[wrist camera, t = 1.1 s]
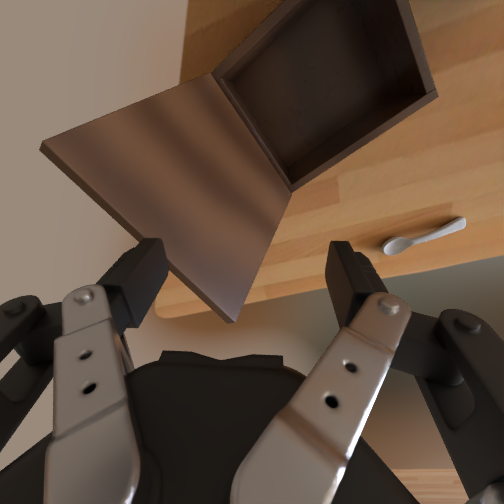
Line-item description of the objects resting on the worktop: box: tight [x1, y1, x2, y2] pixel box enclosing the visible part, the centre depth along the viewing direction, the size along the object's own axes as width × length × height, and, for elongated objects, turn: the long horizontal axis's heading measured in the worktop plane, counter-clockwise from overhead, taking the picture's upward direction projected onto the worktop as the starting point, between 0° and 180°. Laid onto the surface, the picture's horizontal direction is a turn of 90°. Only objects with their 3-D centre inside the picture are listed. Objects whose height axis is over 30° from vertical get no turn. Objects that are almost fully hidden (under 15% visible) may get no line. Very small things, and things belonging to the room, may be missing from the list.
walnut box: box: [211, 0, 439, 193], centre depth 26 cm, size 16×14×9 cm
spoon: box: [382, 217, 466, 255], centre depth 38 cm, size 3×12×2 cm, turn 115°
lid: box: [39, 73, 292, 323], centre depth 19 cm, size 16×14×1 cm
